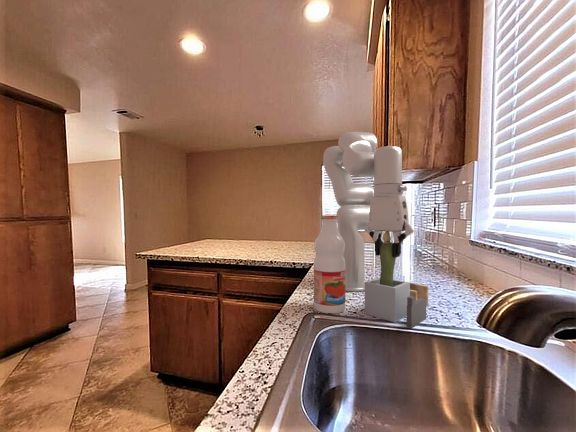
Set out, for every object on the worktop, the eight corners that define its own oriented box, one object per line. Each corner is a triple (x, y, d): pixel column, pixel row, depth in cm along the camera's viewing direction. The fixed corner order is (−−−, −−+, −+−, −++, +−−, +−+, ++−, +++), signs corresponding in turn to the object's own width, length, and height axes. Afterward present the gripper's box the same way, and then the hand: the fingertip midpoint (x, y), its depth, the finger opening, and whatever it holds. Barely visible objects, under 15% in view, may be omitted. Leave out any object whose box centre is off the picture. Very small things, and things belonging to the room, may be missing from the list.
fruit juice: (327, 301, 92) (327, 215, 92) (351, 309, 85) (352, 215, 85) (307, 308, 86) (307, 215, 85) (331, 317, 79) (331, 215, 78)
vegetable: (380, 295, 84) (380, 227, 84) (395, 297, 82) (396, 228, 82) (378, 299, 80) (379, 228, 80) (395, 301, 78) (395, 228, 78)
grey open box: (364, 313, 81) (364, 282, 81) (380, 306, 88) (380, 277, 88) (395, 322, 75) (395, 288, 75) (409, 313, 81) (409, 282, 81)
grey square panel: (406, 327, 72) (406, 297, 72) (421, 317, 78) (421, 290, 78) (411, 328, 71) (411, 298, 71) (426, 318, 78) (426, 291, 77)
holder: (380, 303, 90) (380, 284, 90) (394, 297, 97) (394, 279, 96) (415, 312, 82) (415, 291, 82) (428, 305, 89) (428, 285, 89)
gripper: (423, 190, 77) (423, 257, 77) (368, 193, 89) (367, 251, 90) (412, 188, 72) (411, 261, 72) (354, 192, 84) (354, 254, 84)
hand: (387, 255), depth 81 cm, fingers closed on vegetable, 4 cm apart
